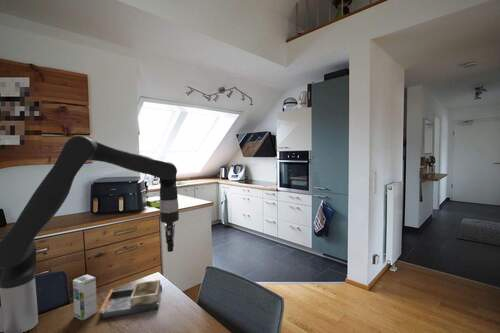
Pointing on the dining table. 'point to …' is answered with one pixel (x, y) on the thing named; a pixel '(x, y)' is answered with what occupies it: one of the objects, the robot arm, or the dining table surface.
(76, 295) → the syrup box
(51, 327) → the dining table surface
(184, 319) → the dining table surface
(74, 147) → the robot arm
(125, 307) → the bay
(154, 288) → the box
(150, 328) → the dining table surface
